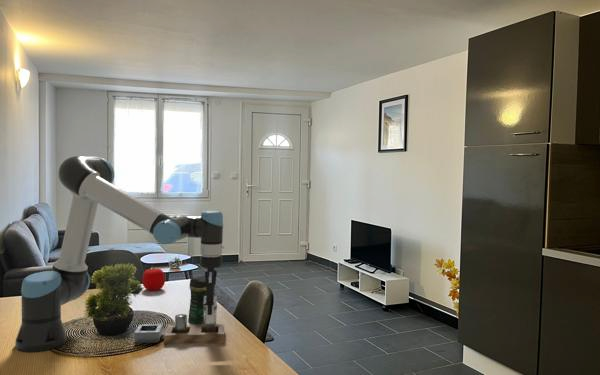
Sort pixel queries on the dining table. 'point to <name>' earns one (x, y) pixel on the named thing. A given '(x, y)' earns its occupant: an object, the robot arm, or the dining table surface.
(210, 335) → the rack
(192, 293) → the coffee jar
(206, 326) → the grey metal cylinder
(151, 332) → the socket block
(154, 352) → the dining table surface
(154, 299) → the dining table surface
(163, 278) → the tomato
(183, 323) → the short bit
